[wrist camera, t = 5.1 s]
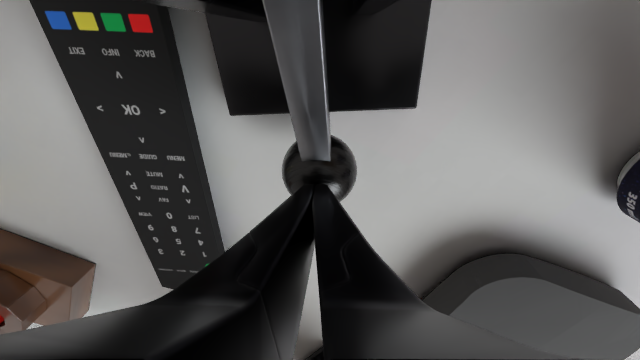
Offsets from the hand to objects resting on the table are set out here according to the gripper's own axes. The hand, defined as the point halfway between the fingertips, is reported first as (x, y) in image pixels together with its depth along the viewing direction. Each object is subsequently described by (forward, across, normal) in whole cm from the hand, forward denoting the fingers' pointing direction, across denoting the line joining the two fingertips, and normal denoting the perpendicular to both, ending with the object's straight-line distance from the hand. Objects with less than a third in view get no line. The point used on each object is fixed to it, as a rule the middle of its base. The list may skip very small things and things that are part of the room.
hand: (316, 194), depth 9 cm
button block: (+5, +26, +11) cm, 29 cm away
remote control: (+6, +10, 0) cm, 11 cm away
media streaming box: (+5, -14, +16) cm, 22 cm away
